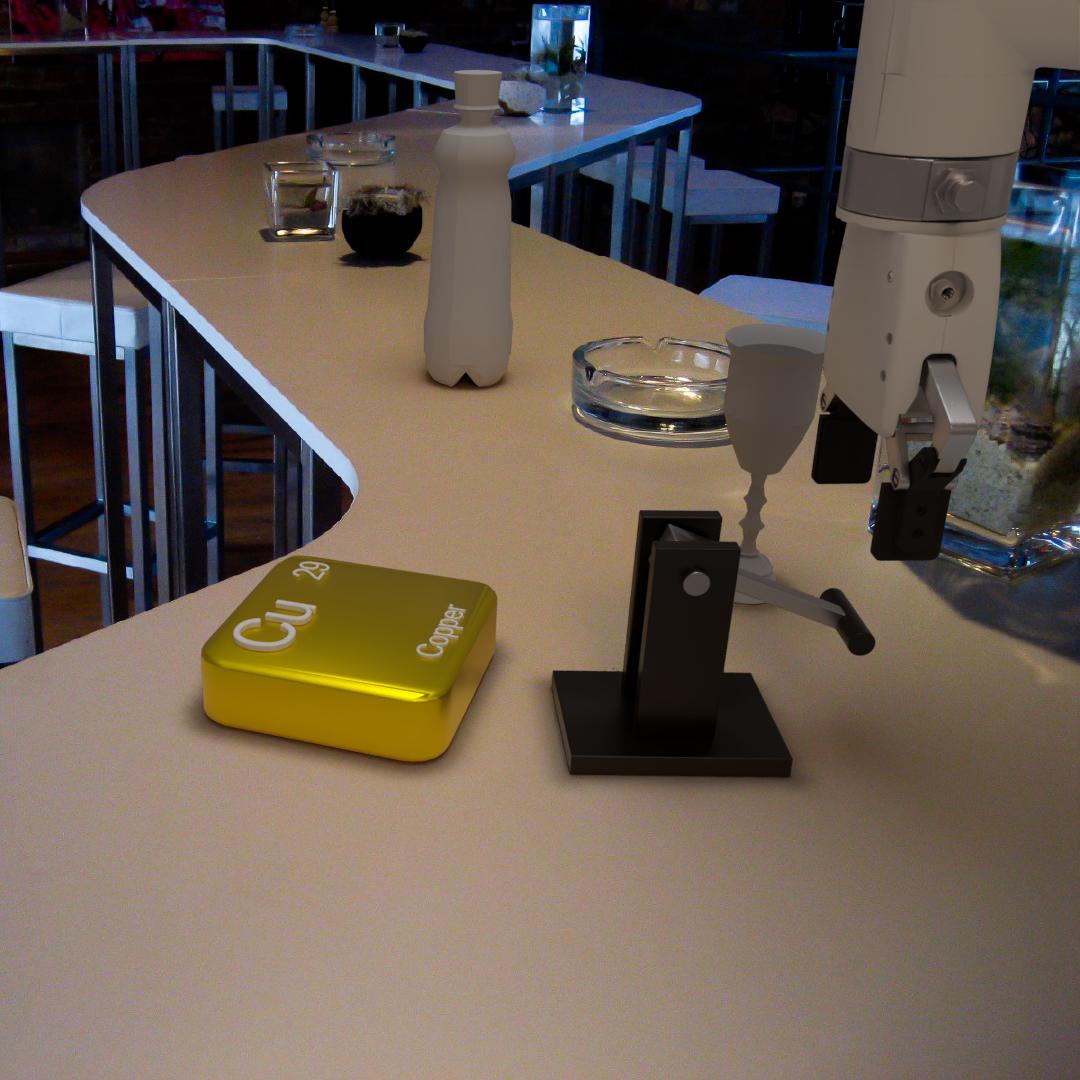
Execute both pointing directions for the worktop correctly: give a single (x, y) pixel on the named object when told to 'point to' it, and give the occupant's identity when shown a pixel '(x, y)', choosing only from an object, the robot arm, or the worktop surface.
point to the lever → (798, 600)
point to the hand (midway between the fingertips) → (869, 517)
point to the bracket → (673, 671)
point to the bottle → (471, 241)
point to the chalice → (768, 414)
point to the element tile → (352, 657)
